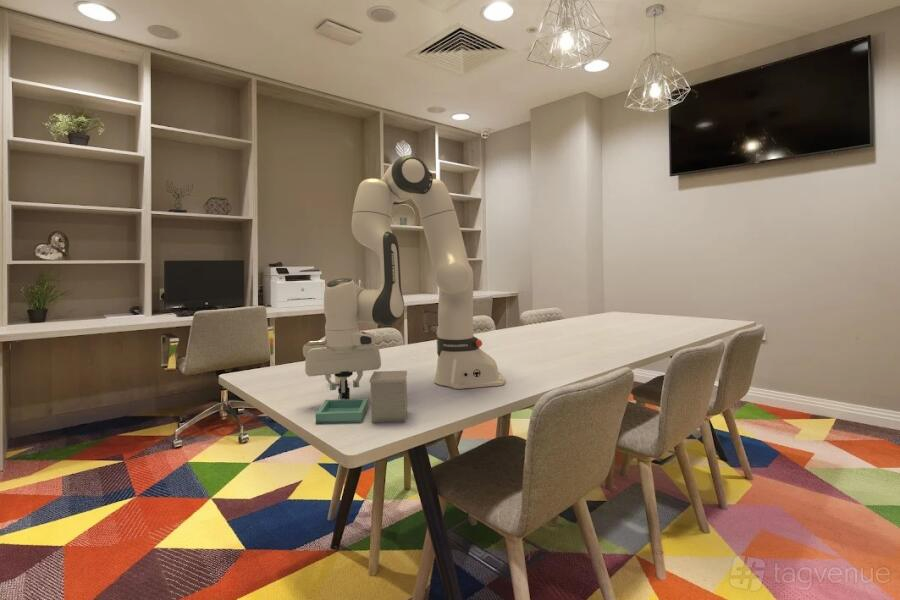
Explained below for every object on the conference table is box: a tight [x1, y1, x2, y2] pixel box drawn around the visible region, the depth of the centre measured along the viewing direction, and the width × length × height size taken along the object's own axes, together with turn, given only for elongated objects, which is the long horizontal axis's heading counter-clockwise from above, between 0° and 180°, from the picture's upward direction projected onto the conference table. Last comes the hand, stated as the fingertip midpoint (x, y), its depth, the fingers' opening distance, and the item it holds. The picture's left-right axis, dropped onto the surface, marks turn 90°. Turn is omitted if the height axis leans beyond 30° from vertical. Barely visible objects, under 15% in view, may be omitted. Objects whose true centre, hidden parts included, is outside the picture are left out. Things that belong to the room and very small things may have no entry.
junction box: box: [369, 370, 408, 424], centre depth 116 cm, size 9×8×11 cm
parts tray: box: [314, 398, 369, 425], centre depth 118 cm, size 11×11×2 cm
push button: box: [334, 371, 354, 400], centre depth 129 cm, size 7×5×10 cm
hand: (344, 388), depth 129 cm, fingers closed on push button, 5 cm apart
